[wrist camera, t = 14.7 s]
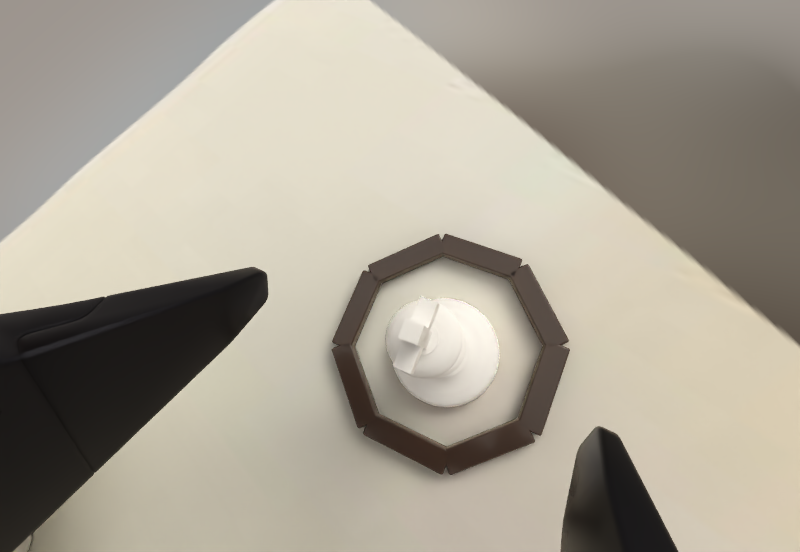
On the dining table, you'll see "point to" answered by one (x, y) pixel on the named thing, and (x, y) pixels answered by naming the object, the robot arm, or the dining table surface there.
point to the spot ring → (485, 442)
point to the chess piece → (443, 351)
